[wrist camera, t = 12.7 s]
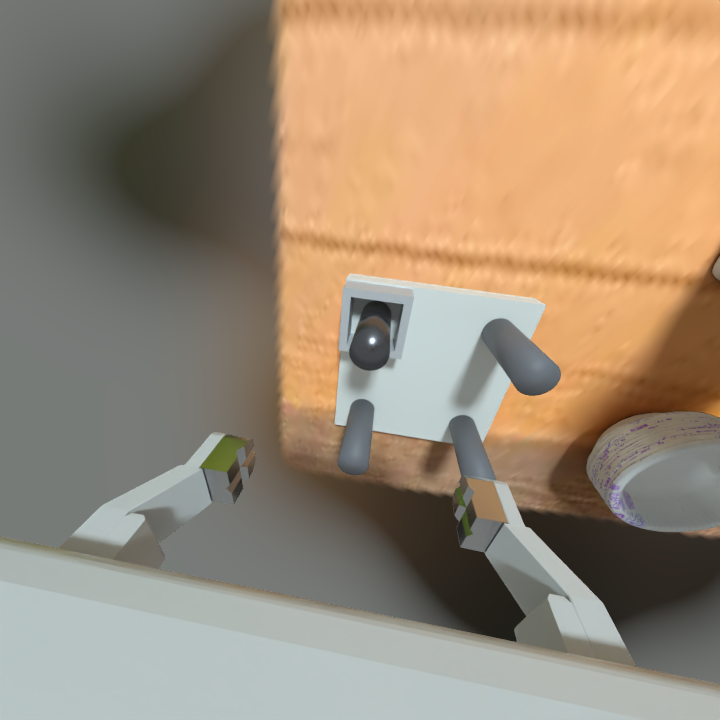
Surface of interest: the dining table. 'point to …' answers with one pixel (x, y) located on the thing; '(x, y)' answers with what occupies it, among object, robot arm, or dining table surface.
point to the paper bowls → (660, 470)
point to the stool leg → (372, 337)
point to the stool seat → (437, 367)
